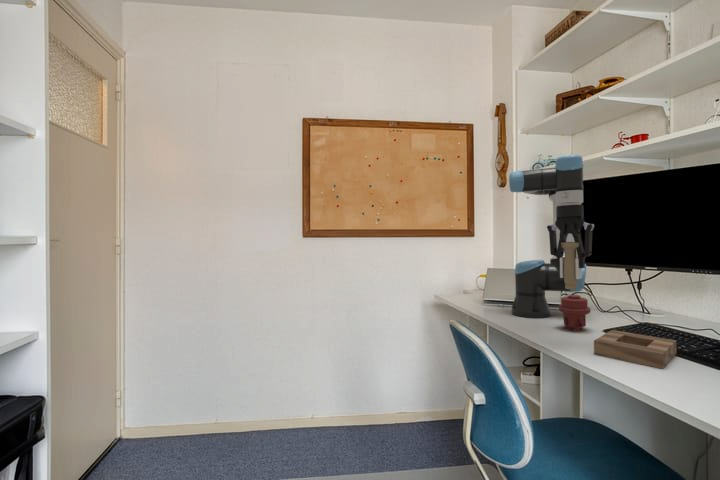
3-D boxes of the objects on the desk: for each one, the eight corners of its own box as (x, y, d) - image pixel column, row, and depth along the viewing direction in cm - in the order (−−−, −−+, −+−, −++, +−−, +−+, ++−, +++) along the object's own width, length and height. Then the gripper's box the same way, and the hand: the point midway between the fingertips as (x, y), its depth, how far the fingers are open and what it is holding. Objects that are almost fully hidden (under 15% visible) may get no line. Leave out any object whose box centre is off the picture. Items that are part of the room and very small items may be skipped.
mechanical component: (584, 325, 138) (595, 333, 128) (555, 325, 140) (564, 332, 130) (583, 293, 138) (595, 298, 128) (554, 293, 140) (563, 298, 130)
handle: (567, 290, 114) (566, 243, 113) (558, 287, 120) (557, 242, 120) (583, 290, 113) (583, 242, 113) (574, 287, 120) (573, 241, 119)
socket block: (611, 342, 118) (611, 329, 118) (676, 354, 106) (676, 340, 106) (594, 354, 108) (593, 340, 108) (662, 368, 96) (662, 353, 95)
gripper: (537, 206, 120) (538, 277, 121) (595, 202, 107) (596, 281, 108) (547, 206, 125) (548, 274, 126) (604, 202, 112) (605, 278, 112)
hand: (570, 277), depth 117 cm, fingers closed on handle, 4 cm apart
